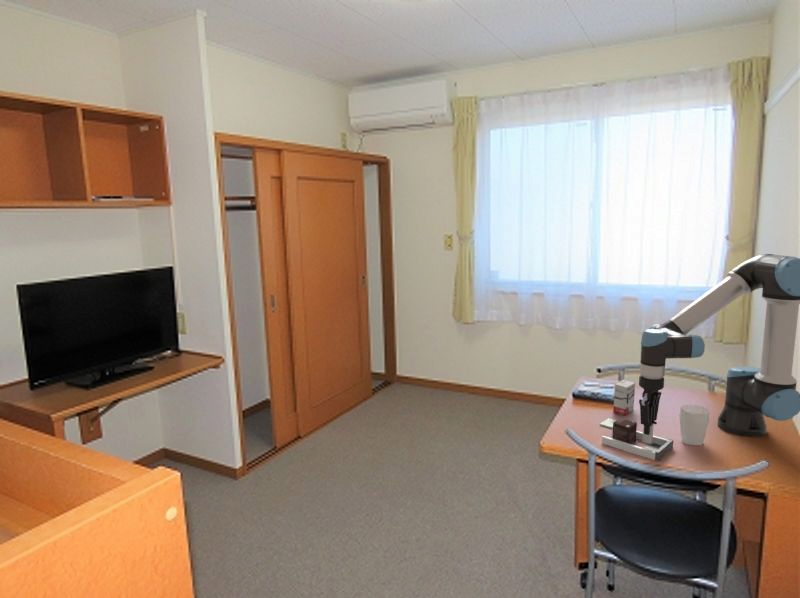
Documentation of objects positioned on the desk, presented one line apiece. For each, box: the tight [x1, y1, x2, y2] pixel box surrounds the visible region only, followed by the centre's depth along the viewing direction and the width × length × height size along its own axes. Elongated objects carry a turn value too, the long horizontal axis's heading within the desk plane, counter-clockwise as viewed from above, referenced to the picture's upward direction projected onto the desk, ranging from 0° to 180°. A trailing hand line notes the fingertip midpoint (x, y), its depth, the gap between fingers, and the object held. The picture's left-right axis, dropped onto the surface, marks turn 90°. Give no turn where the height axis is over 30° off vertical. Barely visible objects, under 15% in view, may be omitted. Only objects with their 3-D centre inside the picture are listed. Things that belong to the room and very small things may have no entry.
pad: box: [599, 417, 617, 430], centre depth 201 cm, size 7×7×1 cm
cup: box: [678, 404, 710, 446], centre depth 184 cm, size 9×9×12 cm
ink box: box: [612, 379, 636, 416], centre depth 213 cm, size 8×5×12 cm, turn 134°
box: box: [611, 417, 638, 445], centre depth 186 cm, size 6×6×7 cm
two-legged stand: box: [601, 430, 674, 461], centre depth 183 cm, size 19×13×3 cm
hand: (647, 442), depth 181 cm, fingers closed
